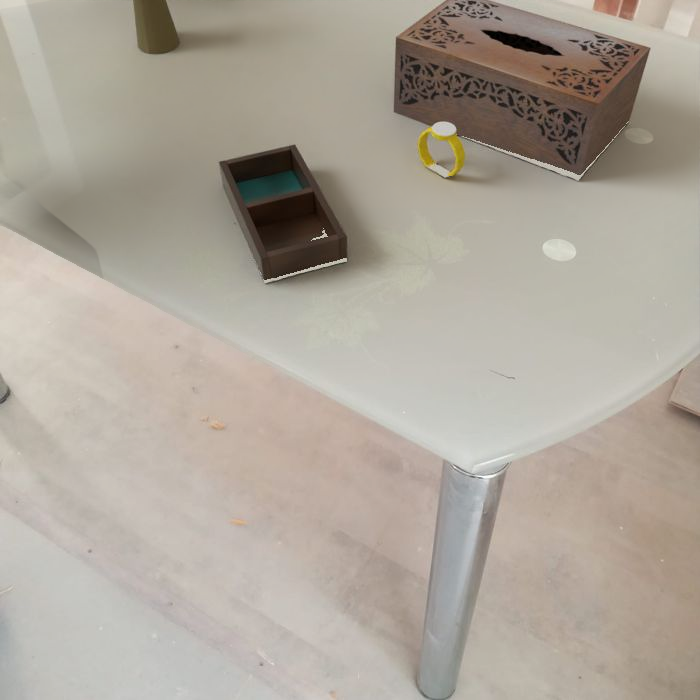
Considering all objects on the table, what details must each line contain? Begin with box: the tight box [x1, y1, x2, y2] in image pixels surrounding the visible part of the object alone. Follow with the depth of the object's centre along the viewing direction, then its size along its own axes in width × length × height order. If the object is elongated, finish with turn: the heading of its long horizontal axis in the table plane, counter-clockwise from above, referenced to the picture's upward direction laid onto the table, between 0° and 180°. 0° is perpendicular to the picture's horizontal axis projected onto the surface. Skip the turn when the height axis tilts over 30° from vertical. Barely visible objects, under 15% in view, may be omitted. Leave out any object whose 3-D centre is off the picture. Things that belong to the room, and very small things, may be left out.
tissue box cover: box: [393, 0, 651, 175], centre depth 94 cm, size 26×14×10 cm, turn 54°
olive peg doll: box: [132, 0, 180, 55], centre depth 108 cm, size 6×6×11 cm
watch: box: [417, 122, 466, 177], centre depth 89 cm, size 6×3×6 cm, turn 46°
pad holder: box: [218, 143, 348, 280], centre depth 84 cm, size 9×17×4 cm, turn 20°
